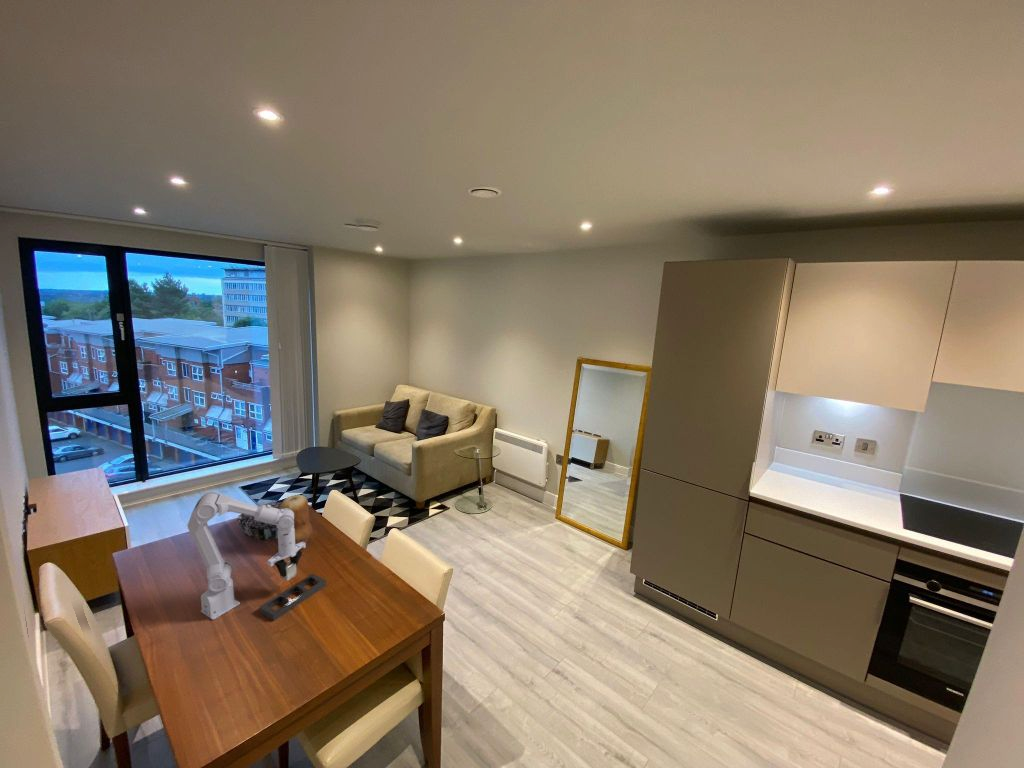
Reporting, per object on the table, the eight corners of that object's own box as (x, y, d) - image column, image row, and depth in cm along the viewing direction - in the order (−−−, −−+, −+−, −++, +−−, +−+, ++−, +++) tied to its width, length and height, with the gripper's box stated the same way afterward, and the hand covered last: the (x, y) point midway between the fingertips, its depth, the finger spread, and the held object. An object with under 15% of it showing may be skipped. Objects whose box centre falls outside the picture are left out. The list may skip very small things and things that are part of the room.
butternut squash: (273, 551, 186) (270, 500, 181) (296, 536, 198) (294, 488, 194) (297, 558, 182) (295, 506, 177) (320, 542, 195) (318, 493, 190)
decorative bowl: (273, 552, 188) (273, 533, 186) (223, 538, 193) (222, 519, 191) (311, 524, 213) (312, 507, 211) (266, 512, 218) (266, 495, 216)
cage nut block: (287, 580, 158) (286, 569, 157) (280, 577, 159) (279, 565, 158) (296, 575, 161) (296, 563, 160) (289, 571, 163) (289, 560, 162)
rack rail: (273, 621, 147) (273, 614, 146) (259, 612, 150) (259, 606, 150) (326, 585, 166) (325, 580, 166) (312, 578, 170) (312, 573, 169)
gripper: (275, 553, 149) (277, 586, 152) (310, 535, 162) (311, 565, 165) (263, 548, 152) (265, 580, 155) (298, 530, 165) (299, 560, 168)
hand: (288, 572), depth 160 cm, fingers closed on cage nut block, 4 cm apart
